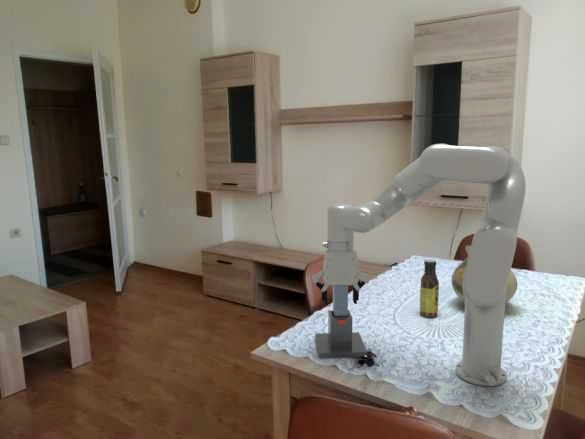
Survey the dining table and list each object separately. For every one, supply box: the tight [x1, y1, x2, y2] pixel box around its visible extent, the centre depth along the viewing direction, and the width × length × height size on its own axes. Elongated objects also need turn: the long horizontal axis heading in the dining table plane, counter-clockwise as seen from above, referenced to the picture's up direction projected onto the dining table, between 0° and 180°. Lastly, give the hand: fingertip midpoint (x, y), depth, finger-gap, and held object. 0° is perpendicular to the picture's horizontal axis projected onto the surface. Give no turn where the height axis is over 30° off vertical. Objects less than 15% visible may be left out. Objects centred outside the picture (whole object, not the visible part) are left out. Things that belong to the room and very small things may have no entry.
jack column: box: [332, 285, 349, 317], centre depth 140 cm, size 4×4×22 cm
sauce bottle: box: [419, 259, 440, 318], centre depth 165 cm, size 7×6×20 cm
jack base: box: [314, 309, 368, 359], centre depth 141 cm, size 14×14×10 cm
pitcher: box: [451, 243, 518, 307], centre depth 172 cm, size 22×24×25 cm
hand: (340, 302), depth 140 cm, fingers open, 8 cm apart
